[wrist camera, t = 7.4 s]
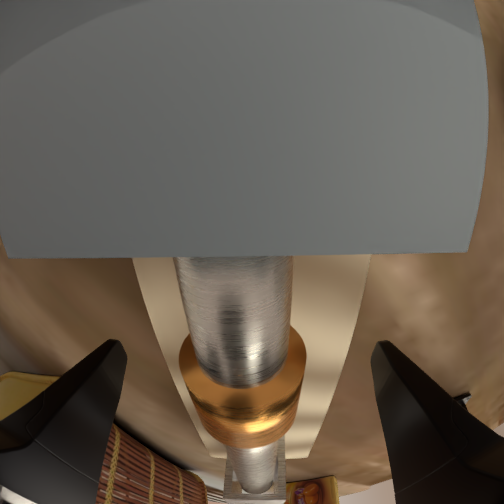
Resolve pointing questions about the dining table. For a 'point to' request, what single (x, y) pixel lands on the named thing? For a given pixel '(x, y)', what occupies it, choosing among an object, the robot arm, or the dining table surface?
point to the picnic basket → (116, 456)
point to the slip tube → (242, 356)
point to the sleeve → (237, 500)
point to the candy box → (313, 491)
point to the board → (302, 320)
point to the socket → (240, 127)
